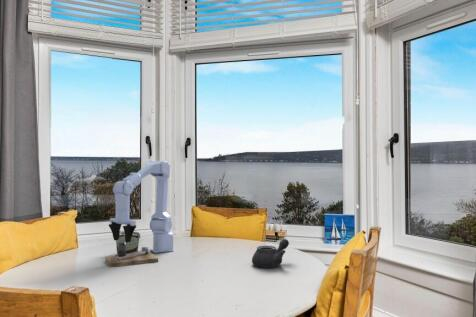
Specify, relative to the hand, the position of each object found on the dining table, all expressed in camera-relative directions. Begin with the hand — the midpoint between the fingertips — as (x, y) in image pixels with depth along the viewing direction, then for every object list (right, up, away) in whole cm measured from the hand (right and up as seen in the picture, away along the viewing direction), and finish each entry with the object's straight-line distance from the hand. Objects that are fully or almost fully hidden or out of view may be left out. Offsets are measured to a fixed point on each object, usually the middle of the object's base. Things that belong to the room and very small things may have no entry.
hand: (122, 241), depth 165 cm
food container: (-2, -10, +17) cm, 19 cm away
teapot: (+65, -10, 0) cm, 66 cm away
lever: (+3, -8, +5) cm, 10 cm away
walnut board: (+3, -9, +3) cm, 10 cm away
